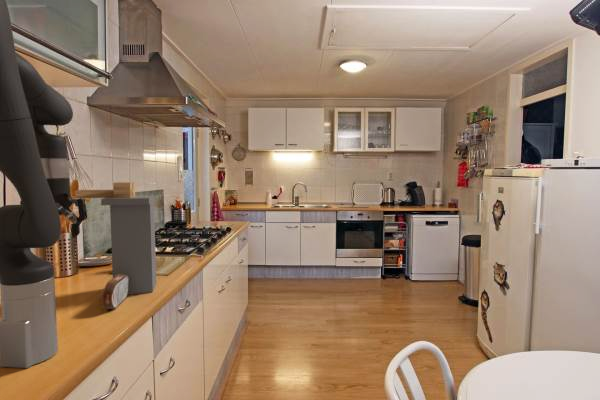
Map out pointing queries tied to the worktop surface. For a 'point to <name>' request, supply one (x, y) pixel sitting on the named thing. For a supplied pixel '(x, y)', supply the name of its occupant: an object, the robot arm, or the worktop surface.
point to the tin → (115, 291)
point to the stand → (133, 241)
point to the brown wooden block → (109, 191)
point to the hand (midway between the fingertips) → (56, 238)
